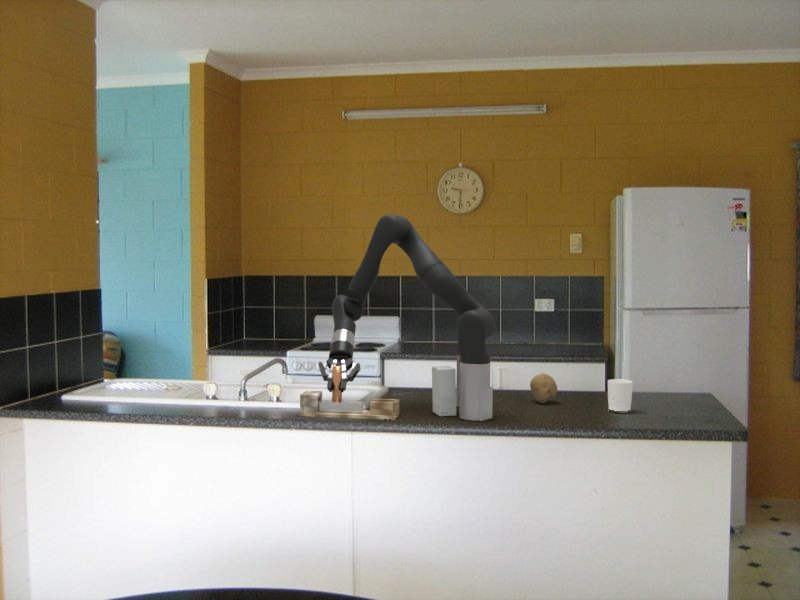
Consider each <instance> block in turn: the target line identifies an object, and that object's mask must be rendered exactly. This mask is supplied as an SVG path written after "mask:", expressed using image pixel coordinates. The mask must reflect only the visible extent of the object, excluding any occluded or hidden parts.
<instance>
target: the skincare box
mask: <svg viewBox="0 0 800 600" xmlns="http://www.w3.org/2000/svg"><path fill="white" fill-rule="evenodd" d="M456 374H457V371H456V368H455V367H452V366H449V365H438V366H431V388H432V389H431V391H432V397H431V398H432V413H434V414H435V415H438V416H439V417H445V416H446V417H448V416H449V417H456V416H457V406H456Z"/></svg>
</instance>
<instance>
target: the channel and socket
mask: <svg viewBox="0 0 800 600" xmlns="http://www.w3.org/2000/svg"><path fill="white" fill-rule="evenodd" d="M299 398H300V399H299V402H300V403H299V413H298V416H299V417H306V418H309V417H312V418H333V419H334V418H337V419H359V420H360V419H361V420H362V419H364V420H384V419H387V420H388V421H389V419H391V420H392V421H396V420H397V419H398V417H399V416H400V399H399V398H398V399H396V398H372V400H371V401H370V402H369V404H370V405H369V410H366V409H363V412H362V413H346V412H320V411H318V400H323V390H305V391H303V392H302V393H301V394H299ZM398 415H399V416H398ZM396 418H397V419H396ZM391 420H390V421H391Z"/></svg>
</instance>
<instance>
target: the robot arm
mask: <svg viewBox="0 0 800 600" xmlns="http://www.w3.org/2000/svg"><path fill="white" fill-rule="evenodd" d="M392 244H395V245H397V246H398V247H399V248H400V249H401V250H402V251H403V252H404V253H405V254H406V256H408V258H409V259H410V262H411V264H412V266H413V267H412V268H413V270H414V272H415V275H416V277H417V278H418V280H419V281H420V282H421V283H422V285H423V286H424V287H425V289H427V291H428V292H429V293H430V294H432V295H433V296H434V297H436V299H438V300H440V301H441V302H443V303H445V304H446V305H448V306H449V307H450V308H451V309H453V310H454V312H456V313H457V315H459V318H458V321H457V328H456V329H457V330H456V331H457V334H456V335H457V350H458V352H459V355H460V407H459V411H458V412H459V418H460V419H462V420H465V421H473V422H474V421H477V422H478V421H479V422H482V421H487V420H491V419H493V396H494V395H493V394H494V393H493V391H494V390H493V386H492V387H491V353H490V352H488V350H487V348H486V339H488V338H490V337H491V336H493V334H494V332H495V331H496V323H495V322H496V321H495V319H494V317H493V315H492V314H491V313H490V311H488V309H486V308H485V307H484V306H483V305H482V304H481V303H480V302H479V301H477V300H476V299H475V297H473V296H472V294H470V292H468V290H467V289H466V288H465V287H464V285H463V284H462V283H461V282H460V280H458V278H457V277H456V276H455V275H454V273H453V272H452V271H451V270H450V268H448V266H447V265H446V264H445V263H444V262H443V261H442V260H441V258H440V257H439V256H438V255H437V254H436V253H435V252H434V251H433V250H432V248H430V246H429V245H427V243H426V241H424V239H423V238H422V237H421V236H420V235H419V233H418V231H417V230H416V228H415V227H414V225H413V224H412V222H411V221H410V220H409V219H408V218H406V217H405V216H403V215H398V214H385V215H383V216H381V217H380V218H379V219H378V221H377V224H376V225H375V228H374V230H373V233H372V236H371V239H370V241H369V244H368V247H367V249H366V252H365V254H364V257H363V259H362V261H361V263H360V265H359V267H358V269H357V270H356V272H355V274H354V275H353V277H352V279H351V281H350V282H349V285H348V290H349V291H350V293H351V294H353V296H355V297H356V298H357V299H354V298H351V297H349V296H347V295H344V294H338V295H337V296H336V297H334V299H333V301H332V303H331V313H332V319H333V324H334V327H333V333H332V337H331V341H330V348H329V354H328V358H327V360H326V361H325V362H322V361H319V362H318V369H319V372H320V374H321V376H322V380H323V381H324V382H327V384H326V388H327V389H326V390H327V391H328V392H329V393H332V366H342V380H341V388H340V390H341V392H342V393H344V392H346V390H347V383H348V382H350V383H351V382H353V381H354V380H355V379H356V377H357V375H358V374H359V372H360V371H361V364H360V363H359V362H356V363H355V362H354V360H353V357H354V350H355V341H356V340H355V339H356V338H355V336H356V330H357V329H356V327H357V325H356V321H359V320H360V319H361V318H362V316H363V313H364V311H365V309H364V308H365V305H366V301H367V298H368V296H369V293H370V291H371V290H372V288H373V287H374V285H375V283H376V281H377V279H378V277H379V273H380V268H381V262H382V260H383V257H384V254H385V253H386V251H387V250H388V249H389V247H390V246H391V245H392ZM327 367H328V368H329V373H328V374H327V372H326V370H327ZM350 369H351V371H350V372H349V373H348V371H349V370H350Z"/></svg>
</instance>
